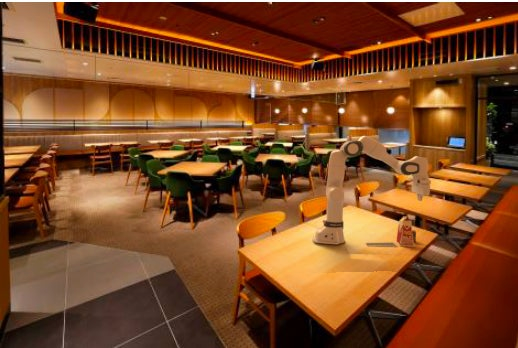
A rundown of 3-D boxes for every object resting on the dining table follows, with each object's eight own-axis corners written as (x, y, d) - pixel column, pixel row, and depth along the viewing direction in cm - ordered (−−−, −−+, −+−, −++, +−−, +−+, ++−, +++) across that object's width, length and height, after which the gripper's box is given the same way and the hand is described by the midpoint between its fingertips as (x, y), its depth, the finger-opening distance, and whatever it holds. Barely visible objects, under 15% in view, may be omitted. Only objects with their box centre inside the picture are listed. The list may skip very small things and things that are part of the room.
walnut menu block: (410, 242, 198) (410, 231, 198) (408, 241, 202) (408, 230, 201) (415, 242, 198) (416, 231, 197) (413, 241, 201) (414, 230, 201)
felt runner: (367, 246, 192) (367, 245, 192) (364, 242, 201) (364, 241, 201) (397, 246, 189) (397, 246, 189) (392, 242, 198) (392, 242, 198)
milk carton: (414, 246, 189) (415, 217, 188) (399, 246, 191) (400, 216, 190) (410, 242, 198) (410, 214, 197) (395, 242, 200) (396, 214, 199)
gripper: (409, 178, 201) (408, 198, 202) (421, 181, 181) (421, 202, 182) (418, 178, 201) (418, 198, 201) (432, 181, 180) (431, 202, 181)
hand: (419, 200), depth 192 cm, fingers closed
